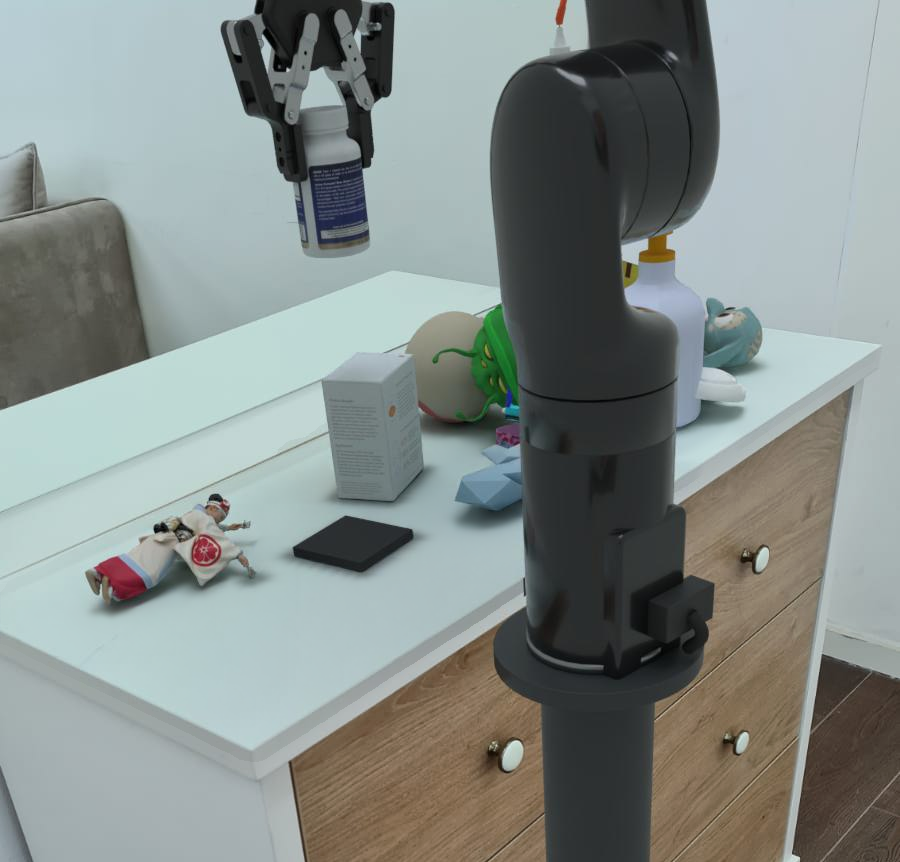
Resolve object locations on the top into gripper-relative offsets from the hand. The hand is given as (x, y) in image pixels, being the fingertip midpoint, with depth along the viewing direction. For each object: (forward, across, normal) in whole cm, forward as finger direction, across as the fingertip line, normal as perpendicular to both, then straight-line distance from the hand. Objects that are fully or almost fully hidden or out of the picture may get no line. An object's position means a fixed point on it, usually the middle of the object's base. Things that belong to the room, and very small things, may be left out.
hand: (328, 173), depth 89 cm
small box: (+26, +3, +1) cm, 26 cm away
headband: (+27, +18, -5) cm, 33 cm away
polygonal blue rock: (+26, +7, -11) cm, 29 cm away
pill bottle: (+6, 0, 0) cm, 6 cm away
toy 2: (+17, +19, +5) cm, 26 cm away
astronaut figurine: (+25, +37, -2) cm, 45 cm away
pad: (+26, -7, -8) cm, 28 cm away
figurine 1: (+26, -19, -2) cm, 32 cm away
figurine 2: (+21, +19, +3) cm, 28 cm away
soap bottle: (+26, +30, -7) cm, 40 cm away
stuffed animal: (+26, +46, -1) cm, 53 cm away
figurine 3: (+21, +12, -5) cm, 25 cm away
